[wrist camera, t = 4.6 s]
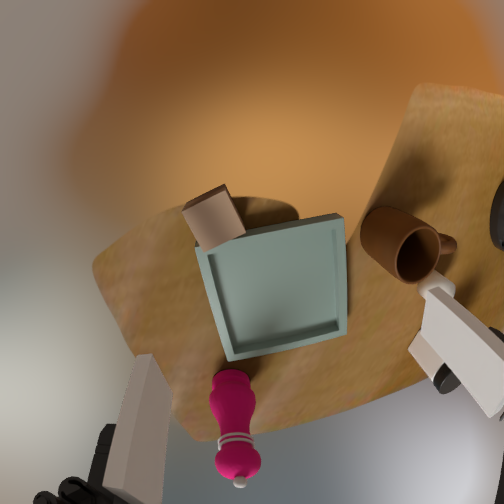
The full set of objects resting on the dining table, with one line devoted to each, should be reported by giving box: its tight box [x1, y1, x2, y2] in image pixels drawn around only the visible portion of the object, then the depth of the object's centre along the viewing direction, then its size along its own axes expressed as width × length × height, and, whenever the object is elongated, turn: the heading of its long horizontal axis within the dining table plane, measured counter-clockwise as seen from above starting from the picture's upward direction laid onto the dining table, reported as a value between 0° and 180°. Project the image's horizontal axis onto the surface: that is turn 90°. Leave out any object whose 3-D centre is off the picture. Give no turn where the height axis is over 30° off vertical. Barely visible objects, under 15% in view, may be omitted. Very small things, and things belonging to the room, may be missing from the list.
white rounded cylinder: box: [417, 270, 455, 300], centre depth 39 cm, size 5×5×5 cm
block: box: [182, 184, 246, 252], centre depth 32 cm, size 5×5×5 cm
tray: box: [195, 213, 347, 362], centre depth 37 cm, size 18×18×2 cm
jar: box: [408, 330, 461, 394], centre depth 41 cm, size 9×8×12 cm
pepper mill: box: [209, 369, 261, 488], centre depth 35 cm, size 7×7×20 cm
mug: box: [360, 206, 457, 284], centre depth 33 cm, size 12×8×9 cm, turn 94°
